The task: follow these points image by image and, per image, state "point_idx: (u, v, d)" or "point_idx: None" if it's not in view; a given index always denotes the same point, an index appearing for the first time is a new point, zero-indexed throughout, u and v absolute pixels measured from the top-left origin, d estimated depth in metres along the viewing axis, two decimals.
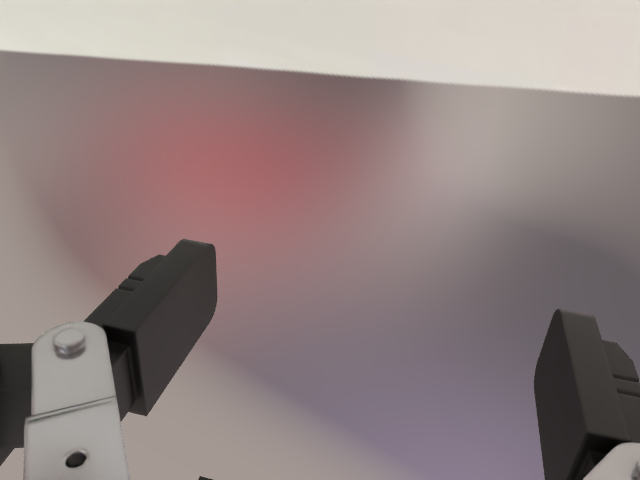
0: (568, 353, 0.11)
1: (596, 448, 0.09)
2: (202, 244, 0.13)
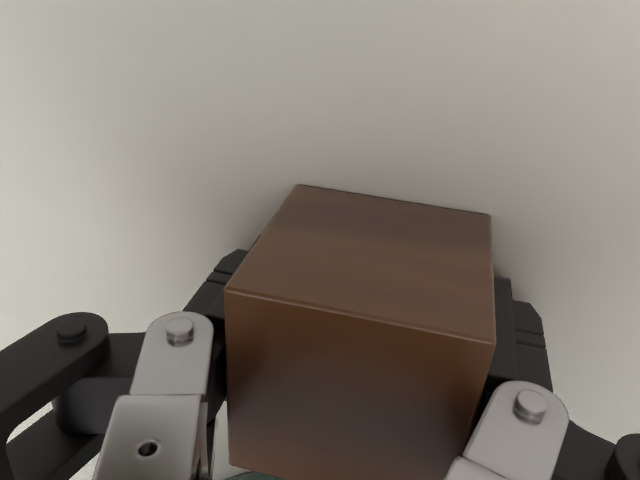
0: None
1: (490, 388, 0.10)
2: None
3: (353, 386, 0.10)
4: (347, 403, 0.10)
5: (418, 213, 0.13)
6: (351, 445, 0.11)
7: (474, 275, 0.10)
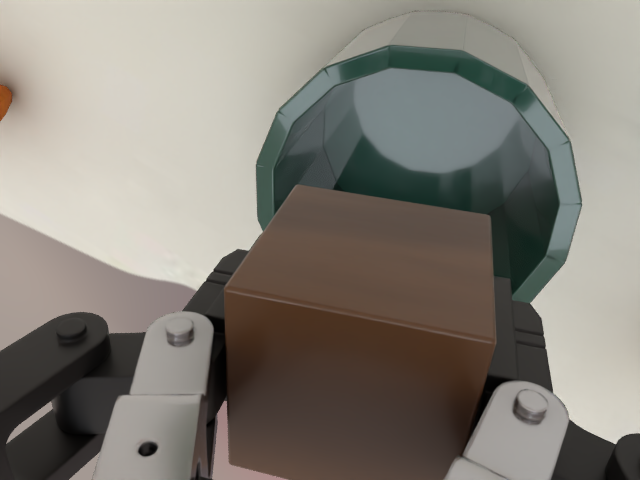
0: None
1: (490, 387, 0.10)
2: None
3: (353, 386, 0.10)
4: (347, 403, 0.10)
5: (418, 212, 0.13)
6: (351, 444, 0.11)
7: (474, 275, 0.10)
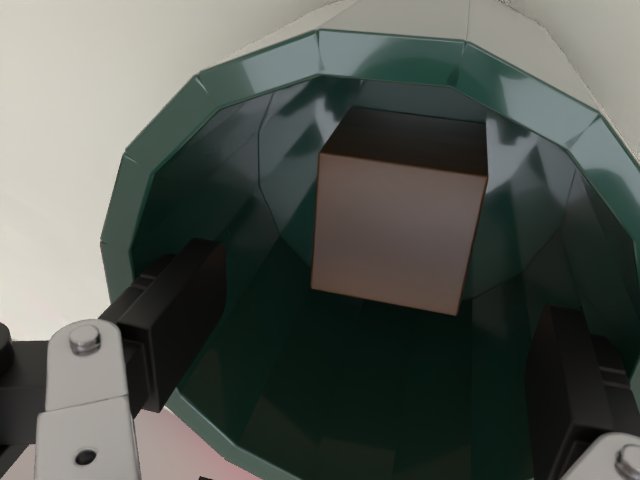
0: (556, 346, 0.11)
1: (581, 438, 0.09)
2: (213, 243, 0.13)
3: (399, 217, 0.16)
4: (394, 230, 0.16)
5: (436, 122, 0.18)
6: (395, 262, 0.17)
7: (475, 150, 0.16)
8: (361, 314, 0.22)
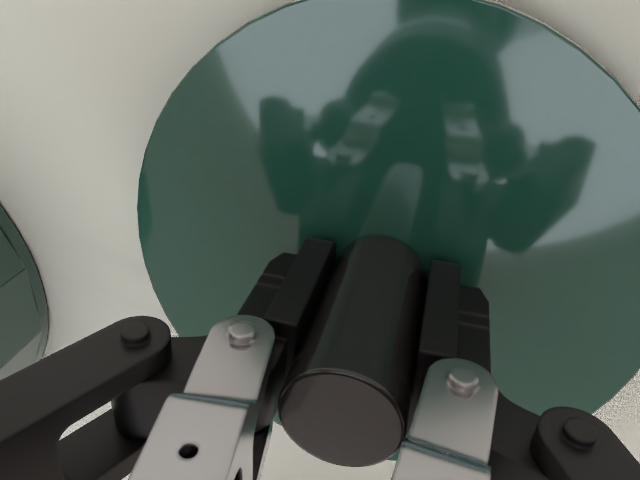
0: (426, 293, 0.12)
1: (429, 365, 0.10)
2: (328, 242, 0.14)
3: None
4: None
5: None
6: None
7: None
8: None
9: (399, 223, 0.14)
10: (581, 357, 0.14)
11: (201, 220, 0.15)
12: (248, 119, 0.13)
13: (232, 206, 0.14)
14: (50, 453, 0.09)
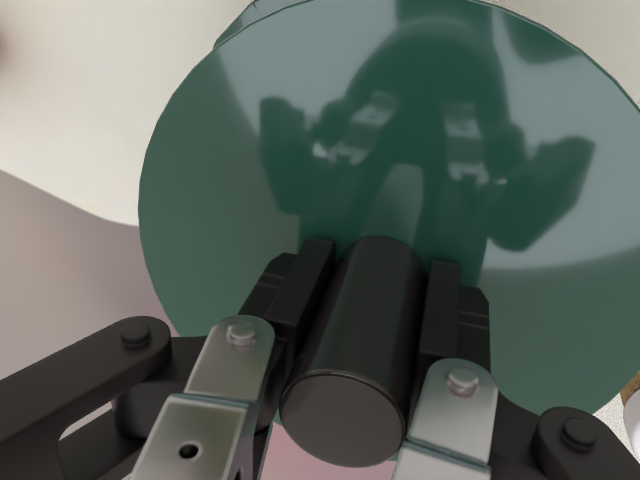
0: (427, 293, 0.12)
1: (429, 365, 0.10)
2: (328, 242, 0.14)
3: None
4: None
5: None
6: None
7: None
8: None
9: (400, 224, 0.14)
10: (581, 358, 0.14)
11: (202, 221, 0.15)
12: (249, 120, 0.13)
13: (233, 207, 0.15)
14: (50, 453, 0.09)
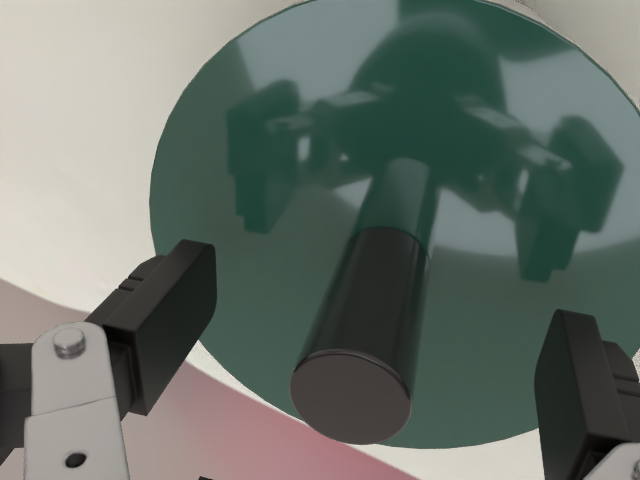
0: (568, 353, 0.11)
1: (596, 448, 0.09)
2: (202, 244, 0.13)
3: None
4: None
5: None
6: None
7: None
8: None
9: (403, 215, 0.14)
10: None
11: (211, 213, 0.15)
12: (258, 115, 0.14)
13: (241, 199, 0.15)
14: None
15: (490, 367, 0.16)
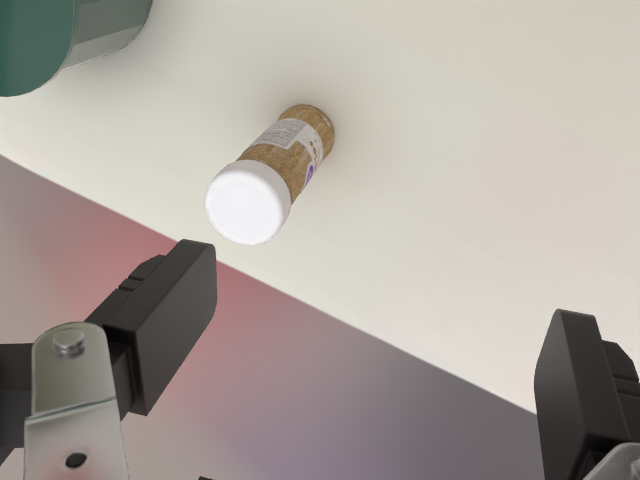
0: (568, 353, 0.11)
1: (596, 448, 0.09)
2: (202, 244, 0.13)
3: None
4: None
5: None
6: None
7: None
8: None
9: None
10: (52, 9, 0.31)
11: None
12: None
13: None
14: None
15: (25, 31, 0.32)
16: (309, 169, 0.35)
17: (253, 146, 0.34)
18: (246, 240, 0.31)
